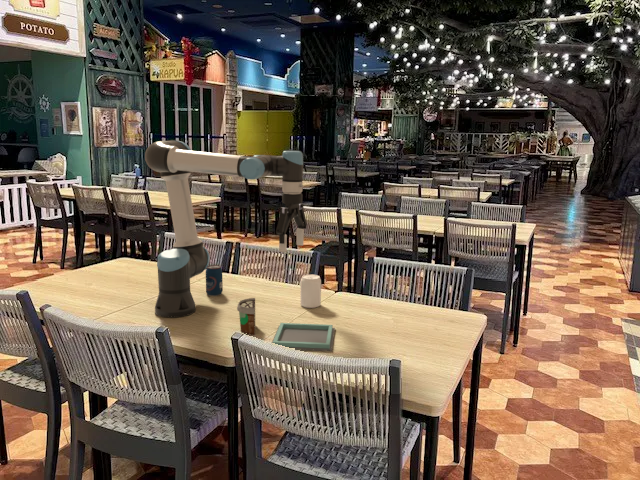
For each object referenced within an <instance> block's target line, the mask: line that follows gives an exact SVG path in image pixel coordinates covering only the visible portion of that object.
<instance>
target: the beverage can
mask: <svg viewBox="0 0 640 480" xmlns="http://www.w3.org/2000/svg"><path fill="white" fill-rule="evenodd" d="M321 301H322V279H321V277H320V275H317V274H311V273H310V274H303V275H302V276H301V278H300V306H301V307H303V308H305V309H306V308H307V309H316V308H318V307H320V306H321V303H322V302H321Z"/></svg>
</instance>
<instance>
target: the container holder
mask: <svg viewBox="0 0 640 480" xmlns="http://www.w3.org/2000/svg"><path fill="white" fill-rule="evenodd" d="M333 325H334V324H325V323H324V324H323V323H322V324H319V323H295V322H280V323H279V325H278V327H277V329H276V331H275V334H274V336H273V338H272V342H271V343H275V344H278V345H282V346H285V347H289V348H295V349H301V350H300V351H308V350H313V351H315V352H333V345H334V337H335V332H336V328H335V327H333ZM313 351H312V352H313Z"/></svg>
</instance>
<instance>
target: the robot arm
mask: <svg viewBox="0 0 640 480" xmlns="http://www.w3.org/2000/svg"><path fill="white" fill-rule="evenodd" d="M303 156H304V154H303V152H302V151H301V150H283V152H282V155H269V154H268V155H266V154H254V155H253V156H250V155H249V156H248V155H247V156H246V155H236V154H228V153H227V154H226V153H218V152H209V151H208V152H207V151H199V150H198V151H197V150H192V148H191V147H190V146H189V145H188V144H186V142H183V141H180V140H176V139H174V140H173V139H171V140H159V141H155V142H152V143H151V144H149V146H148V147H147V148H146V150H145V153H144V160H145V163H146V164H147V166H148V168H150V169H151V170H152V171H154V172H157V173H159V174H160V178H161V179H162V180H163V181H165V186H166V190H167V191H166V192H167V197H168V202H169V208H170V214H171V215H170V216H171V220H172V225H173V230H174V238H175V242H174V243H173V245H172V248H171V249H166V250H163V251H162V252H160V253H159V254H158V255H157V264H156V266H157V281H158V294H157V299H156V302H155V305H154V312H155V315H156V316H159V317H162V318H181V317H185V316H190V315H192V314H193V313H195V312H196V302H195V299H194V297H193V295H192V293H191V279H192V278H194V277H196V276H198V275H200V274H202V273H203V272H205V271H206V269H207V267H208V266H210V265H209V264H210V261H211V259H210V258H211V257H210V252H209V250H208V249H207V248H205V246H204V243H203V240H202V239H200V238H199V236H198V231H197V225H196V218H195V214H194V208H193V201H192V196H191V190H190V184H189V177H190V175H191V173H198V174H209V175H211V174H212V175H218V176H228V177H229V176H230V177H238V178H239V177H240V178H245V179H247V180H254V181H255V180H257V179H261V178H264V177H265V178H266V177H282V183H281V184H282V187H281V188H282V189H281V190H282V192H283V193H282V194H281V199H282V200H281V202H282V203H283V204H284V207H282V206H281V207H280V212H279V216H278V217H279V218H278V221H277V226H276V230H275V233H276V235H279V236H278V238H279V239H278V240H279V241H278V246H279V247H278V252H280V253H287V249H288V248H287V245H288V244H287V242H288V241H287V238H288V235H287V234H286V233H287V231H288V228H289V227H290V226H289V225H290V223H291V221H292V220H293V219H294V220H293V221H295V224H296V226H297V228H296V242H295V243H296V246H303V247H304V244H305V243H304V242H305V241H304V238H305V237H304V236H305V235H304V234H305V233H304V232H305V231H304V230H306V229H307V226H308V223H307V218H306V214H305V210H304V203H303V193H302V192H303V188H304V184H303V180H304V179H303V177H304V174H303V173H304V157H303Z"/></svg>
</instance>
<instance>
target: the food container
mask: <svg viewBox="0 0 640 480" xmlns="http://www.w3.org/2000/svg"><path fill="white" fill-rule="evenodd" d="M236 310H237V311H238V314H239V316H238V317H239V325H240V332H241V333H242V332H244V333H247V334H246V335H248V334H251V335H250V336H255V333H256V298H255V297H251V298H245V299H241V300H240V301H239V302H238V304H237V307H236ZM244 333H243V334H244Z"/></svg>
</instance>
